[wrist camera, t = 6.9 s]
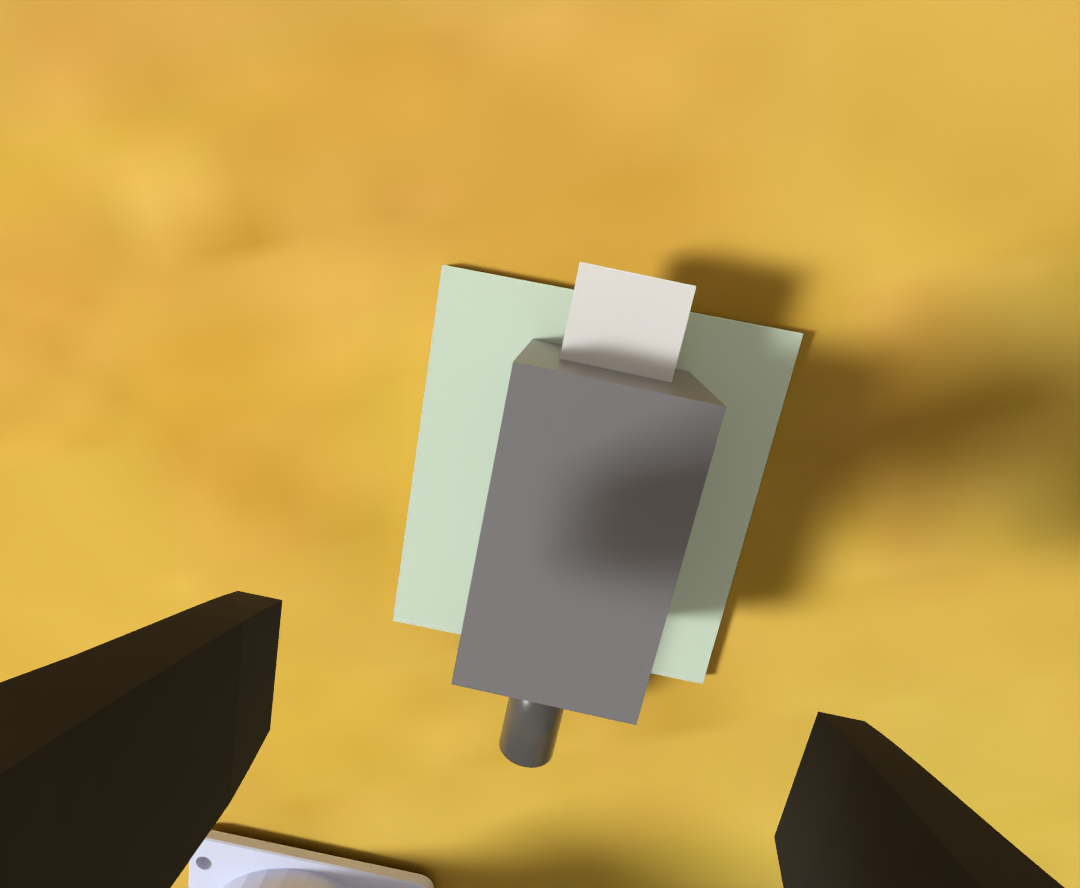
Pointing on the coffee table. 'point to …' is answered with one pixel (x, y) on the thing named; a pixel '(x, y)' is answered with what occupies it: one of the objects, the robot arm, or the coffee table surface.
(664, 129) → the coffee table surface
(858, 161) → the coffee table surface
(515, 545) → the grey power adapter
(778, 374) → the mat
